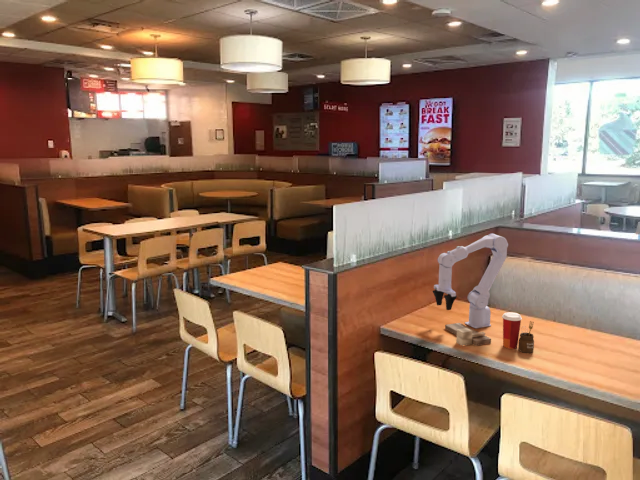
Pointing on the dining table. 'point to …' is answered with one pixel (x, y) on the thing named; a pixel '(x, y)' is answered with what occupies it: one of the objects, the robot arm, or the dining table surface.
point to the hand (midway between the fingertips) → (443, 307)
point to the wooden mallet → (466, 336)
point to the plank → (475, 340)
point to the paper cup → (511, 329)
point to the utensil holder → (526, 341)
